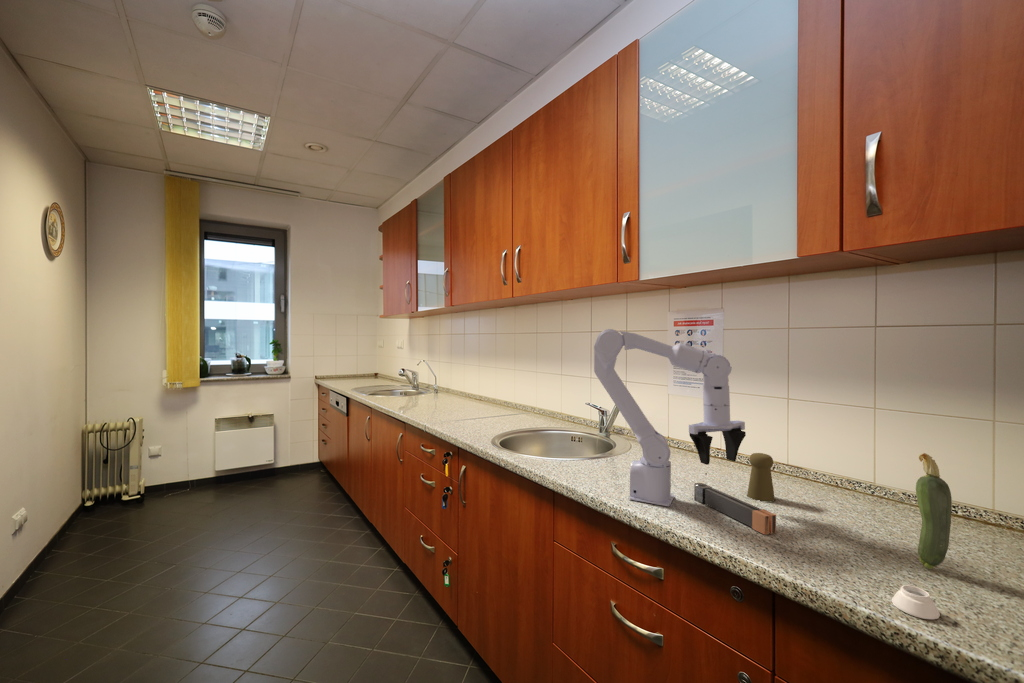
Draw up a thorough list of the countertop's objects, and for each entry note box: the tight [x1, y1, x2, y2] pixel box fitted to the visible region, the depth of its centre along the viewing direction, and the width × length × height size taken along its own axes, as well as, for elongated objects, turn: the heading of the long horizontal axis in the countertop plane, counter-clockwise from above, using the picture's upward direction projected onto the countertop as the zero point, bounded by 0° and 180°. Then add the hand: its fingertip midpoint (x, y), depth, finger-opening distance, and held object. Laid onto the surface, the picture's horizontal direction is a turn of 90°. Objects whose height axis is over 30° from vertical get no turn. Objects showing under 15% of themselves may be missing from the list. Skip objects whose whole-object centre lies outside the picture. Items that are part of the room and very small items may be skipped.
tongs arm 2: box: [711, 487, 777, 534], centre depth 96 cm, size 17×1×4 cm, turn 17°
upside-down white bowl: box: [891, 584, 941, 620], centre depth 63 cm, size 5×3×5 cm
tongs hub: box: [693, 482, 713, 505], centre depth 106 cm, size 4×3×4 cm
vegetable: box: [915, 452, 953, 570], centre depth 74 cm, size 4×4×20 cm
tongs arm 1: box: [704, 489, 770, 535], centre depth 95 cm, size 17×1×4 cm, turn 17°
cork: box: [746, 452, 775, 502], centre depth 109 cm, size 6×6×11 cm
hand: (718, 461), depth 103 cm, fingers open, 7 cm apart
